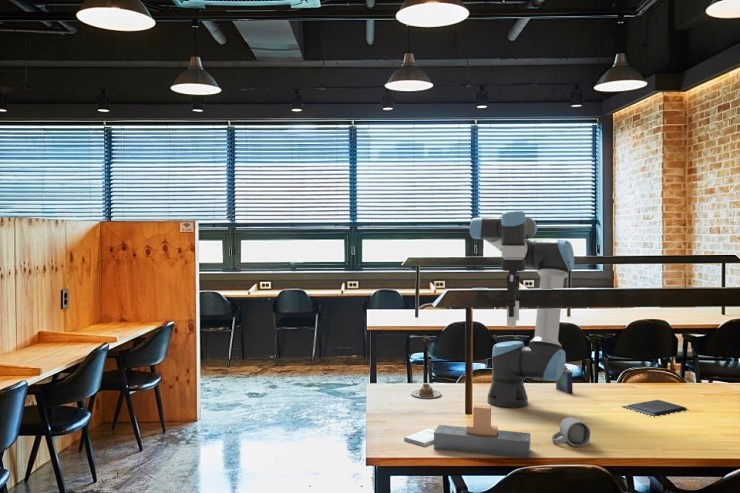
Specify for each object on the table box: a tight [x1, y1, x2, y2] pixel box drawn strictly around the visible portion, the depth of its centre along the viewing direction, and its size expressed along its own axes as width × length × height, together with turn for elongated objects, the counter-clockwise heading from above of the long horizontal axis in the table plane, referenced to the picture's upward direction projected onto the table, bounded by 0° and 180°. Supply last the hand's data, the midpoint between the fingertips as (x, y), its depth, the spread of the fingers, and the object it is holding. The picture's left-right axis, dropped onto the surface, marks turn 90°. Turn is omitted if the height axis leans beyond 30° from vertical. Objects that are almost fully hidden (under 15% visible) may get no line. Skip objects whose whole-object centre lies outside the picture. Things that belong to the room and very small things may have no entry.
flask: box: [555, 364, 574, 395], centre depth 260 cm, size 9×3×11 cm, turn 21°
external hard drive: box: [403, 428, 436, 447], centre depth 201 cm, size 2×8×12 cm
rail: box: [433, 424, 531, 460], centre depth 191 cm, size 8×28×5 cm, turn 73°
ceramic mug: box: [551, 417, 591, 447], centre depth 197 cm, size 11×8×8 cm
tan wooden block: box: [466, 404, 499, 436], centre depth 191 cm, size 3×9×12 cm, turn 73°
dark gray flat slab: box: [620, 399, 689, 418], centre depth 235 cm, size 20×2×15 cm
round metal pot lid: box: [411, 383, 442, 399], centre depth 254 cm, size 12×12×5 cm
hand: (513, 323), depth 206 cm, fingers open, 13 cm apart
